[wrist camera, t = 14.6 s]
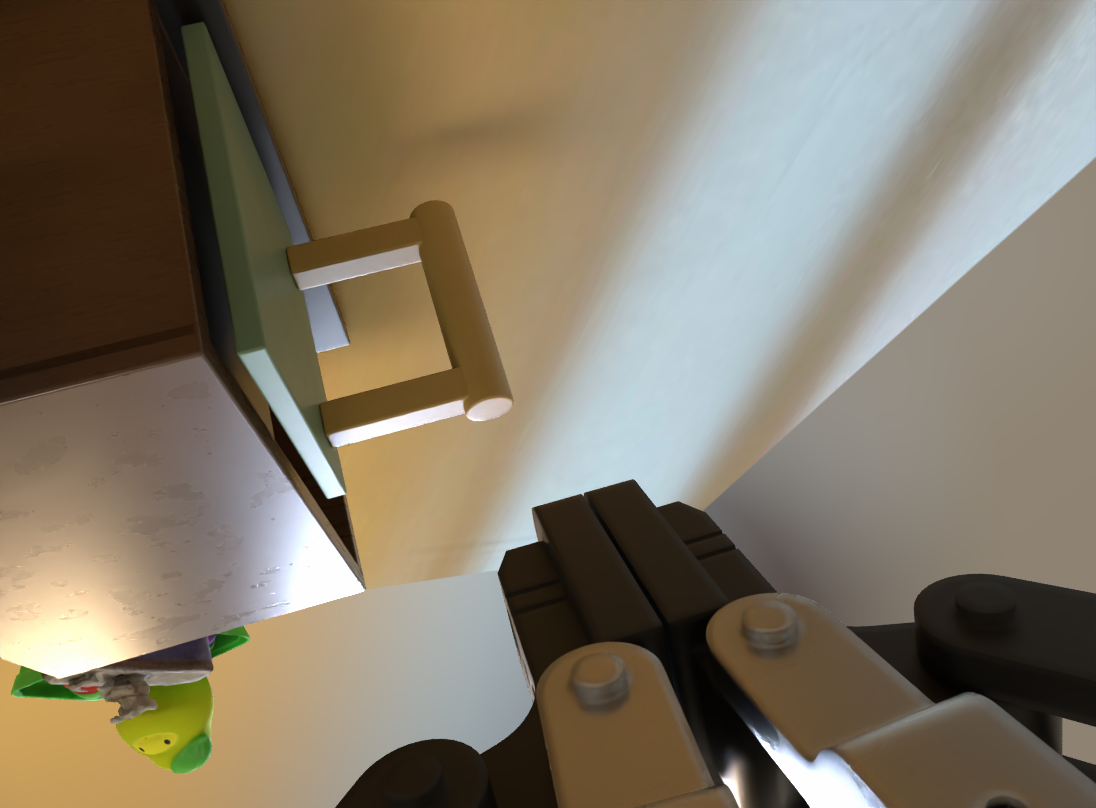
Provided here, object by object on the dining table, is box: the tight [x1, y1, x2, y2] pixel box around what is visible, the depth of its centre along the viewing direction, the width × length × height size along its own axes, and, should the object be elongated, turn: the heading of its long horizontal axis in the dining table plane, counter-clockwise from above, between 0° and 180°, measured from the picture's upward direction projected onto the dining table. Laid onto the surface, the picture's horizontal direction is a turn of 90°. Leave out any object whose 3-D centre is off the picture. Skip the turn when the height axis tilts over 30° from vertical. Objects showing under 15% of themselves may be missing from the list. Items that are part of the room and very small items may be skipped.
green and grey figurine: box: [11, 626, 250, 774], centre depth 54 cm, size 11×9×11 cm
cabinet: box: [0, 0, 366, 678], centre depth 27 cm, size 12×18×11 cm
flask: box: [40, 636, 213, 724], centre depth 43 cm, size 9×3×11 cm, turn 24°
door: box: [181, 22, 514, 499], centre depth 24 cm, size 6×9×10 cm
